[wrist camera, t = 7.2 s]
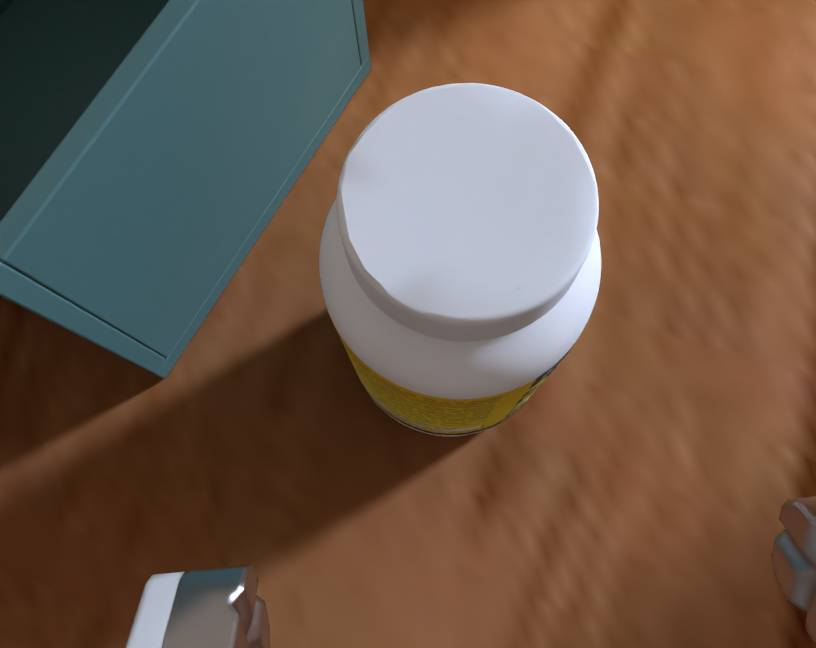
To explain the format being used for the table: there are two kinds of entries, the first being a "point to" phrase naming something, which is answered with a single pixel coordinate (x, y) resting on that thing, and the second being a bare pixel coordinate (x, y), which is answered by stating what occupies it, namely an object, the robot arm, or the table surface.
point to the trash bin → (156, 152)
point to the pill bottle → (461, 254)
